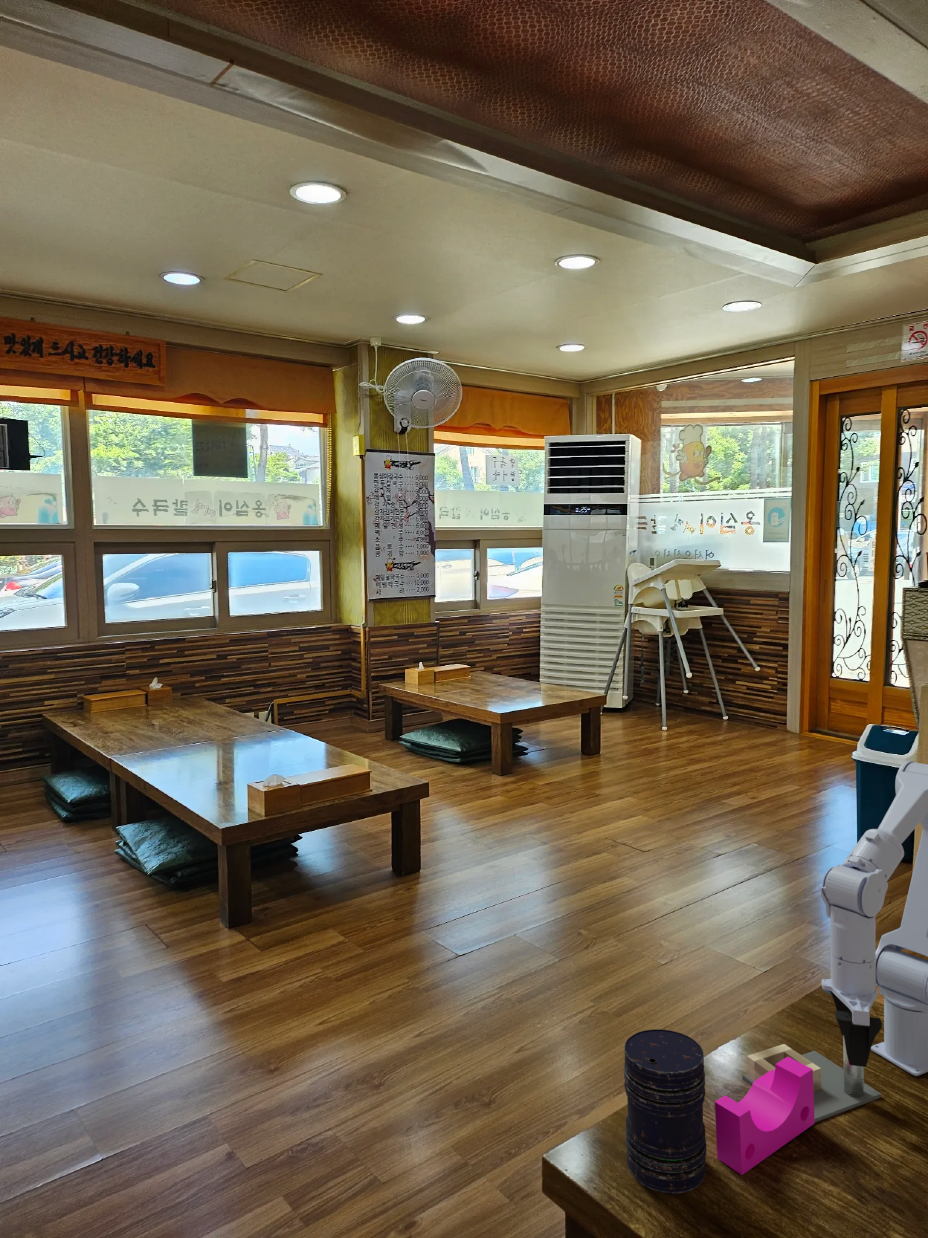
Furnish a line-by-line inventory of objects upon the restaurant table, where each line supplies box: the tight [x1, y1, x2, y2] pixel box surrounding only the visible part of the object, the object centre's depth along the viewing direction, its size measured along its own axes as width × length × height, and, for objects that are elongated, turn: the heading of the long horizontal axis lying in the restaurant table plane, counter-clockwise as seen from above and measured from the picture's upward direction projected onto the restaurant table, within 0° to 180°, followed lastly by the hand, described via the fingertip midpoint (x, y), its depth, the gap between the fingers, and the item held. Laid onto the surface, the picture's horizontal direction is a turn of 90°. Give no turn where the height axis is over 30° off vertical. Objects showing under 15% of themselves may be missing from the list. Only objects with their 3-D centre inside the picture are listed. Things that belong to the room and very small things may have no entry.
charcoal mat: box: [741, 1050, 882, 1123], centre depth 122 cm, size 14×12×1 cm
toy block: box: [714, 1057, 816, 1176], centre depth 112 cm, size 15×6×8 cm, turn 125°
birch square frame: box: [746, 1043, 821, 1092], centre depth 123 cm, size 7×7×3 cm
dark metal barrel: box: [623, 1028, 707, 1194], centre depth 107 cm, size 10×10×15 cm
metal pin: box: [842, 1035, 865, 1098], centre depth 120 cm, size 3×3×8 cm
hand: (853, 1049), depth 120 cm, fingers open, 7 cm apart
